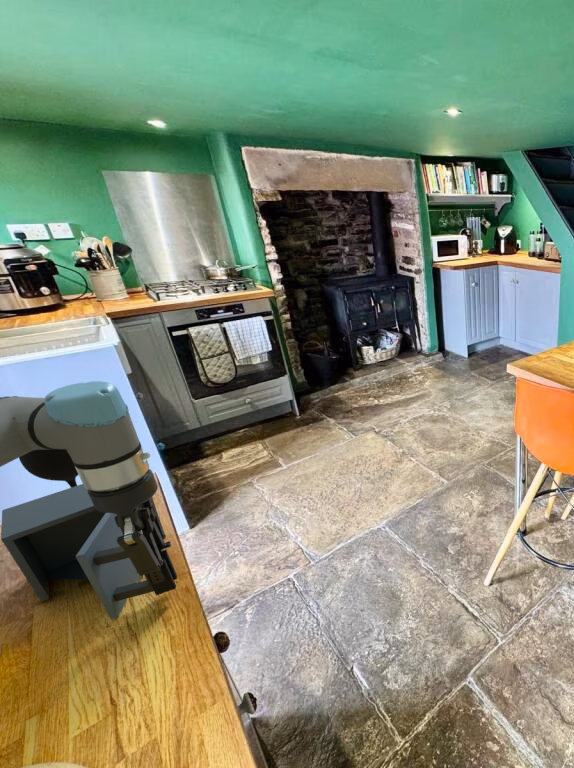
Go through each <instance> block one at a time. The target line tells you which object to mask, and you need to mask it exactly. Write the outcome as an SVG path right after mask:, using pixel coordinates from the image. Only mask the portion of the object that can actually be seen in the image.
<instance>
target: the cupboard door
mask: <svg viewBox="0 0 574 768" xmlns="http://www.w3.org/2000/svg"><path fill="white" fill-rule="evenodd" d="M115 516H117V515H116V514H113V513H105V515H104V516H103V518H102V519H101V521H100V522H99V523H98V525H97V526H96V528H95V529H94V531H93V532H92V533H91V535H90V536H89V538H88V539H87V541H86V542H85V544H84V545H83V546H82V548H81V549H80V551H79V552H78V554H77V555H76V558H77V560H78V562H79V563H80V565H81V567H82V569H83V571H84V572H85V574H86V576H87V578H88V580H87V581H89V583H90V585H91V586H92V588H93V590H94V592H95V594H96V596H97V597H98V599H99V601H100V603H101V605H102V607H103V608H104V610H105V612H106V613H107V615H108V617H109V619H110V620H114V619H118V618H119V617H120V615H121V613H122V611H123V609H124V607H125V605H126V602H127V601H128V599H130V598H134V597H138V596H142V595H146V594H149V593H153V592H154V590H153V588H152V585H151V583H150V581H149V579H148V577H147V575H146V574H145V575H142V576H140V575H139V574H138V573H137V570H136V568H135V567H134V565H133V563H132V562H131V560H130V558H129V557H128V555H127V554H126V552H125V550H124V549H123V548H122V547H121V546H120V545H119V544H118V543H117V538H118V537H120V536H123V533H122V531H121V528H120V527H118V526H117V524H116V522H115ZM143 576H144V577H145V580H142V579H143Z"/></svg>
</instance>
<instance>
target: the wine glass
mask: <svg viewBox="0 0 574 768" xmlns="http://www.w3.org/2000/svg"><path fill="white" fill-rule="evenodd" d="M18 459H19V461H20V463H21V465H22V467H23V468H24V469H25V470H26V471H27V472H28V473H30V474H31V475H33V476H34V477H37V478H39V479H43V480H47V481H54V482H55V481H56V482H66V483H67V485H69V488H72V487H75V486H78V483H77V480H76V479H77V477H78V476H79V474H78V472H77V470H76V468H75V465H74V464H73V461H72V458H71V457H70V455H69V453H68V451H67V450H66V449H61V450H33V451H31V452H29V453H27V454H25V455H23V456H21V457H19V458H18Z"/></svg>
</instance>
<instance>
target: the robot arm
mask: <svg viewBox="0 0 574 768" xmlns="http://www.w3.org/2000/svg"><path fill="white" fill-rule="evenodd" d="M129 411H130V410H129V407H128V405H127V403H125V400H124V398H123V397H122V395H121V392H120V391H119V389H118V388H117V386H116V385H114V384H112V383H111V382H107V381H102V380H101V381H100V380H99V381H98V380H97V381H95V380H94V381H93V380H92V381H88V382H78V383H73V384H69V385H65V386H62V387H59V388H56V389H54V390H52V391H50V392H49V393H47V394H46V395H45V397H33V396H31V397H30V396H18V395H12V396H0V468H1V467H3V466H6V464H9V463H11V462H13V461H15V460H17V459H19V457H21V456H23V455H25V454H27V453H29V452H31V451H33V450H61V449H66V450H67V451H68V453H69V455H70V457H71V458H72V461H73V464H74V465H75V468H76V470H77V472H78V474H79V475H78V476H79V479H80V481H81V484H83V485H84V487H85V488H86V489H87V490H88V494H89V496H90V498H91V500H92V502H93V504H94V506H95V508H96V509H97V510H98V511H100V512H104V513H113V514H116V515H117V516H115V522H116V524H117V526H118V527H120V528H121V531H122V533H123V536H120V537H118V538H117V543H118V544H119V545H120V546H121V547H122V548H123V549H124V550H125V552H126V554H127V555H128V557H129V558H130V560H131V562H132V563H133V565H134V567H135V568H136V570H137V573H138V574H139V575H140V576H142V575H143V576H145V574H146V575H147V577H148V579H149V581H150V583H151V585H152V588H153V590H154V591H153V592H154V594H155V596H156V597H157V596H159V595H162V594H164V593H165V594H166V593H168V592H170V591H174V590H176V588H177V583H176V582H175V580H178V574H177V572H176V568H175V566H174V565H173V562H172V559H171V558H170V555H169V553H168V550H167V549H168V548H170V547H171V546H172V544H171V541H170V540H169V541H166V542H165V540H166V537H167V535H166V533H165V531H164V528H163V525H162V522H161V519H160V516H159V514H158V511H157V507H156V504H155V502H154V495H156V493H157V491H158V489H159V486H158V483H157V481H156V478H155V476H154V472H153V471H152V469H151V468H150V464H149V462H148V460H147V459H149V458H151V454H150V453H149V452H144V449H143V447H142V444H141V442H140V439H139V437H138V434H137V431H136V428H135V426H134V424H133V421H132V418H131V415H130V412H129Z"/></svg>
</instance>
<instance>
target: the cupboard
mask: <svg viewBox="0 0 574 768" xmlns="http://www.w3.org/2000/svg"><path fill="white" fill-rule="evenodd" d="M104 515H105V513H104V512H100V511H98V510H97V509H96V508H95V506H94V504H93V502H92V500H91V498H90V496H89V494H88V490H87V489H86V488H85V487H84V485H83V483H81V484H77V486H75V487H72V488H71V487H69V488H66V489H63V490H60V491H56V492H54V493H51V494H48V495H45V496H41V497H38V498H35V499H32V500H28V501H26V502H23V503H20V504H17V505H14V506H10V507H8V508H4V509H2V510H1V530H0V531H1V532H0V540H1V542H2V543H3V545H4V546H5V548H6V550H7V551H8V552H9V554H10V555H11V558H12V559H13V560H14V562H15V563H16V565H17V566H18V568H19V570H20V571H21V573H22V574H23V576H24V577H25V579H26V580H27V582H28V584H29V585H30V586H31V588H32V590H33V592H34V593H35V594H36V596H37V598H38V599H39V601H40V602H41V603H43V602H45V601H47V600H49V599H50V586H49V580H77V581H78V580H80V581H81V580H82V581H89V580H88V578H87V576H86V574H85V572H84V571H83V569H82V567H81V565H80V563H79V562H78V560H77V558H76V555H77V554H78V552H79V551H80V549H81V548H82V546H83V545H84V544H85V542H86V541H87V539H88V538H89V536H90V535H91V533H92V532H93V531H94V529H95V528H96V526H97V525H98V523H99V522H100V521H101V519H102V518H103V516H104Z"/></svg>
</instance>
